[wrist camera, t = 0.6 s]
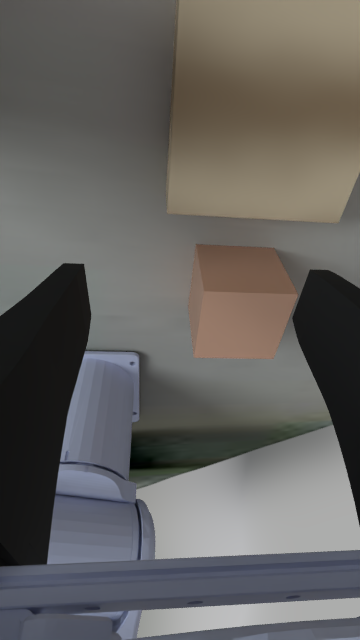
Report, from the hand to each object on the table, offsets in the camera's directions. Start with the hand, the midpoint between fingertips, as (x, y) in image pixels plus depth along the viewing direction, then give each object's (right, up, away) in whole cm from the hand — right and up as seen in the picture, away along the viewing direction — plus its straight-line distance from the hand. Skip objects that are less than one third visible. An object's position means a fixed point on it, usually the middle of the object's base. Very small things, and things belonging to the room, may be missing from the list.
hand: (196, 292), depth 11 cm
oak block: (+3, +10, +5) cm, 12 cm away
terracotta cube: (+3, +2, +12) cm, 12 cm away
